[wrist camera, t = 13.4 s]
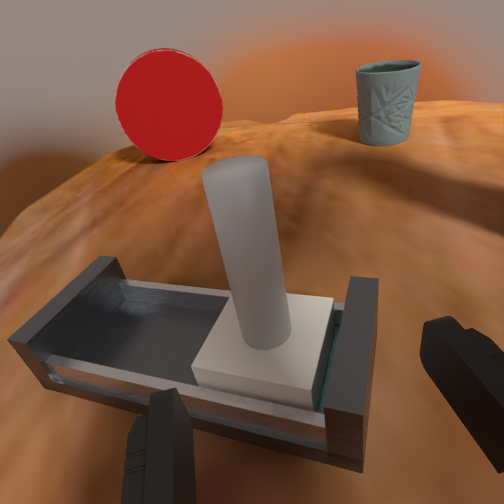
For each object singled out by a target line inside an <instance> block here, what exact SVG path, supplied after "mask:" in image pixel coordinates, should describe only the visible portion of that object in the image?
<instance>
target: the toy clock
mask: <svg viewBox="0 0 504 504" xmlns="http://www.w3.org/2000/svg"><path fill="white" fill-rule="evenodd" d="M115 106H116V113H117V117H118V121H119V123H120V125H121V128H122V130H123V131H124V133H125V134H126V136H127V137H128V139H129V140H130V141H131V142H132V143H133V144H134V145H135V146H136V147H137V148H138V149H140V150H141V151H142V152H144V153H146V154H148V155H149V156H152V157H154V158H157V159H161V160H166V161H179V160H185V159H188V158H191V157H194V156H196V155H198V154H199V153H201V152H202V151H203V150H205V149H206V148H207V147H208V146H209V145H210V144H211V143H212V142H213V140H214V138H215V137H216V135H217V133H218V131H219V128H220V125H221V121H222V114H223V113H222V112H223V105H222V98H221V94H220V91H219V88H218V86H217V84H216V81H215V79H214V78H213V77H212V75H211V74H210V72H209V71H208V70H207V69H206V68H205V67H204V66H203V65H202V64H201V63H200V62H199V61H197V60H196V59H194V58H193V57H192V56H190V55H188V54H186V53H184V52H182V51H179V50H175V49H169V48H160V49H154V50H150V51H147V52H145V53H143V54H141V55H139V56H138V57H137V58H135V60H133V61H132V62H131V63H130V65H129V66H128V67H127V68H126V70H125V71H124V72H123V74H122V76H121V78H120V80H119V82H118V86H117V89H116V97H115Z"/></svg>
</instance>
